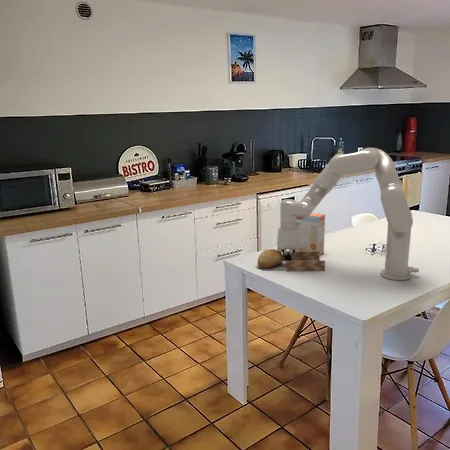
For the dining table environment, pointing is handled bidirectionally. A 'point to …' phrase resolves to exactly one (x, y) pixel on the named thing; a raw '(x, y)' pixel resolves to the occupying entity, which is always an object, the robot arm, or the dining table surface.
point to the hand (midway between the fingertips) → (288, 262)
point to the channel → (305, 261)
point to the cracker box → (311, 233)
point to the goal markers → (271, 269)
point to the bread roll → (269, 258)
